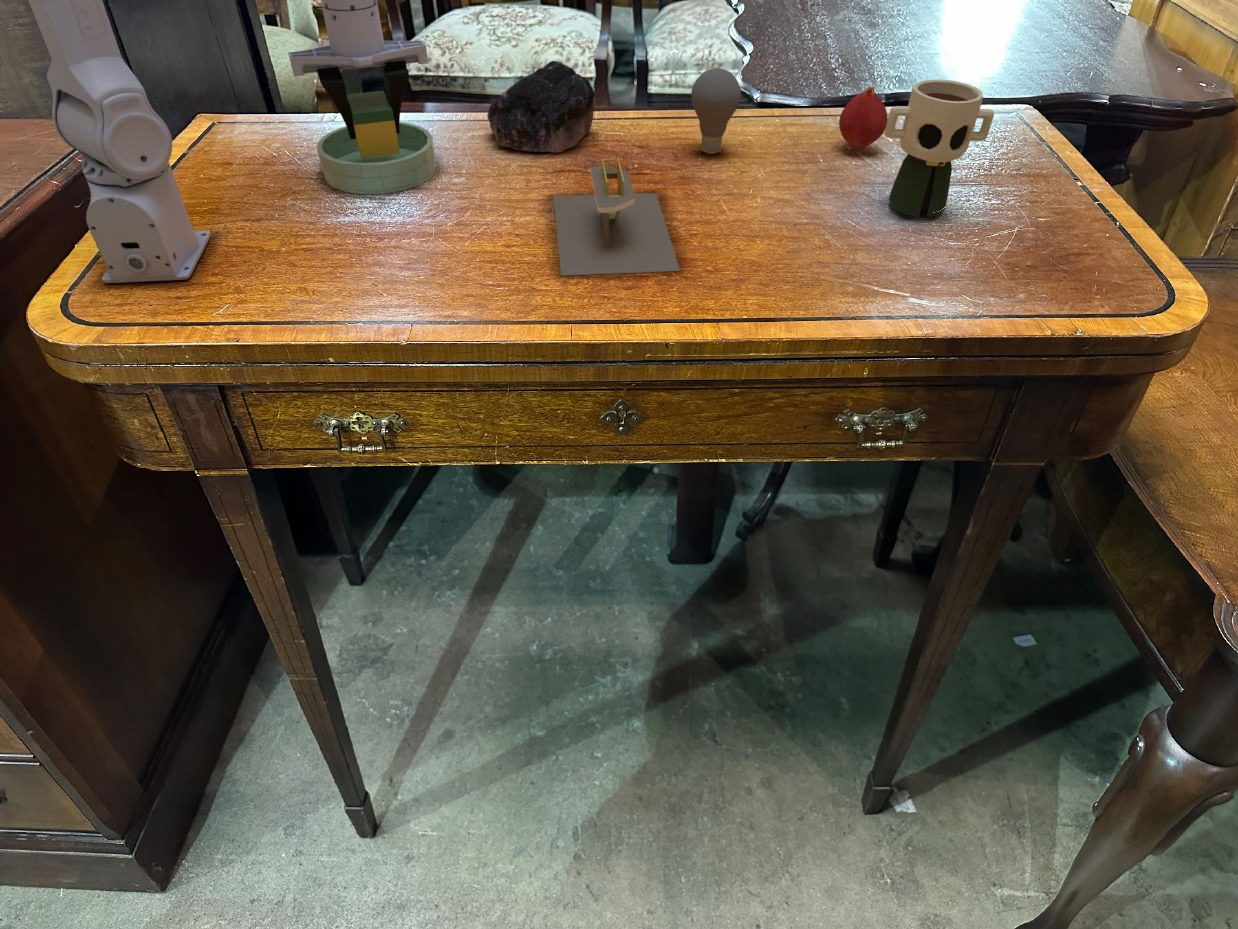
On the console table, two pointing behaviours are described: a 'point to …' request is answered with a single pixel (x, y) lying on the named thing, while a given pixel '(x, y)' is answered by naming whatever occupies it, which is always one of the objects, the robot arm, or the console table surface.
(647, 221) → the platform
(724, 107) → the light bulb
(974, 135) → the character mug
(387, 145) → the sponge
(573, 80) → the dark rough boulder
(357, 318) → the console table surface
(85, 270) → the console table surface
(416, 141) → the bowl
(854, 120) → the onion
